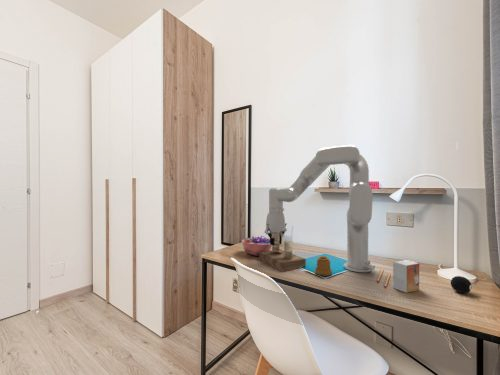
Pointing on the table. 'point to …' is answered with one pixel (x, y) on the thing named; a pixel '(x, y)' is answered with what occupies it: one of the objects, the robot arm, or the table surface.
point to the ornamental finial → (323, 266)
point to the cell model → (256, 245)
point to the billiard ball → (461, 284)
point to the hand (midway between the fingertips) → (275, 243)
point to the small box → (406, 275)
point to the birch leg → (276, 242)
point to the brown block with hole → (283, 258)
